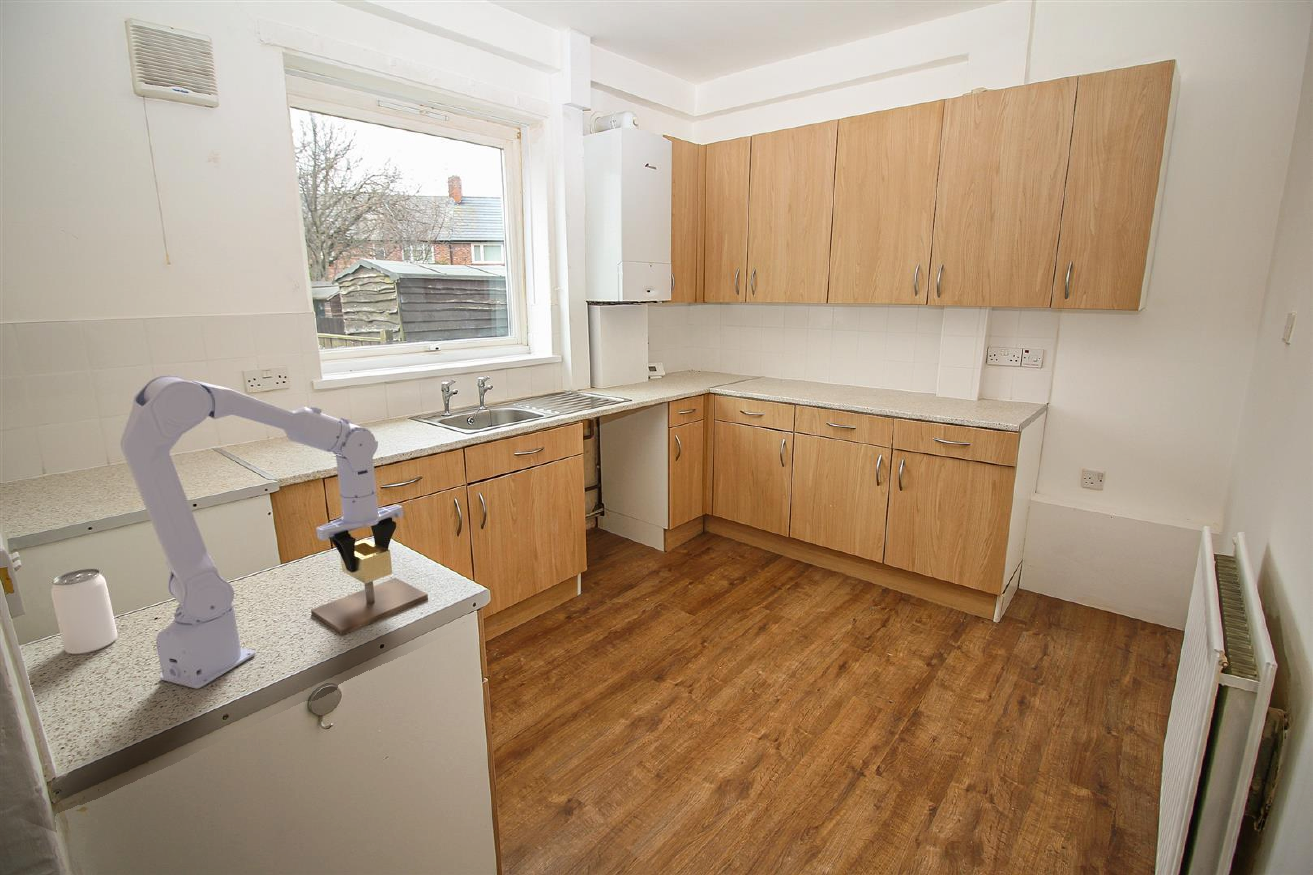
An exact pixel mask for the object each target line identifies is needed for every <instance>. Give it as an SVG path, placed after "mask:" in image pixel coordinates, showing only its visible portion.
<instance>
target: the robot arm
mask: <svg viewBox="0 0 1313 875" xmlns="http://www.w3.org/2000/svg"><path fill="white" fill-rule="evenodd" d="M132 401H133V402H132V408H131V411H130V413H129V416H128V419H127V422H126V425H125V428H124V430H123V433H122V435H121V439H120V443H119V444H120V449H121V451H122V454H123V456H124V458H125V461H126V463H127V466H128V468H129V471H130V473H131V475H132V479H133V480H134V483H135V485H136V487H137V491H138V492H139V494H140V497H141V499H142V502H143V504H144V507H145V509H146V512H147V514H148V516H149V517H148V518H149V519H150V521H151V524H152V526H153V528H154V531H155V533H156V536H157V538H158V541H159V544H160V545H161V548H162V551H163V553H164V555H165V558H166V565H167V568H168V571H169V578H168V582H167V589H168V592H169V594H170V595H171V596H172V597H173V598H174V599H175V600H176V601H177V602H178V605H177V606H176V609H175V612H174V613H173V616H174V619H173V621H172V622H171V623H170V624H169V625H168V626H167V627H166V628H164V629H162V630H161V631H160V632H159V633H158V634H157V636H156V640H155V644H156V650H157V655H158V661H159V665H160V670H161V674H160V675H159V677H158V678H159V680H162V681H165V682H166V681H167V682H169V683H173V684H177V685H180V686H186V687H189V688H193V689H196V690H197V689H201V688H202V687H204V686H206V685H207V684H209V683H211V682H213V681H214V680H216V679H217V678H219V677H220V676H222V675H224V674H225V673H227V672H229V671H230V670H232V669H234V668H235V667H237V666H239V665H240V664H242V663H244V662H245V661H247V660H249V659H251V658H252V657H254V656H255V655H256V651H255V650H251V649H246V648H243V647H241V642H240V638H239V631H238V625H237V619H236V612H235V606H234V598H235V590H234V587H233V585H231V583H230V582H229V581H227V580H226V579H224V577H222V576H221V575H220V573H219V570H218V568H217V566H216V564H215V563H214V561H213V559H212V557H211V555H210V554H209V553H210V552H209V551H208V548H207V546H206V544H205V542H204V539H203V536H202V534H201V531H200V529H199V526H198V524H197V520H196V519H195V516H194V514H193V511H192V508H191V505H190V503H189V501H188V498H187V495H186V492H185V490H184V487H183V485H182V481H181V479H180V477H179V475H178V472H177V469H176V466H175V464H174V460H173V459H172V456H171V454H170V452H171V449H173V447H174V446H175V445H176V444H177V443H178V441H179V440H180V438H181V437H182V436H183V435H184V434H186V433H187V432H189V431H190V430H192V429H194V428H195V427H197V426H199V425H200V424H201V423H203V422H204V421H205V420H206V419H207V418H208V417H209V418H211V419H213V420H217V419H221V418H224V417H225V418H226V417H228V416H236V417H239V418H243V419H247V420H250V421H253V422H257V423H261V424H264V425H268V426H270V427H274V428H277V429H281V430H283V431H284V433H285V434H286V437H287V439H288V440H290V441H291V442H294V443H297V444H300V445H304V446H308V447H311V448H314V449H318V450H321V451H324V452H327V453H333V454H334V455H335V460H336V461H335V462H336V468H337V469H336V471H337V479H338V480H337V481H338V486H339V495H340V496H339V497H340V504H341V511H342V516H341V517H339V518H337V519H335V520H332V521H330V522H328V523H325V524H323V525H321V526H318V527H316V528H315V530H316V536H317V537H316V538H317V539H318V540H320V541H323V542H324V541H327V540H328V541H329V540H330V542H331V543H332V544H333V546H334V547H335V548H336V550H337V551H338V552H339V555H341V557H342V559H343V561H344V563H345V566H346V569H347V570H348V571H350V572H351V573H353V572H356V561H355V543H356V540H357V539H356V537H353V536H352V534H351V533H350V532H351V531H355V530H358V529H361V528H366V527H370V529H371V531H372V536H373V540H374V543H375V544H378V545H380V546H382V547H384V548H386V549H388V550H389V547H390V543H391V539H392V538H393V535H394V533H395V531H396V529H397V522H396V521H395V520H393V519H395V518H398V519H400V518H403V517H404V509H403V506H401V505H398V504H394V505H390V506H384V507H379V503H378V502H379V500H378V495H377V483H376V482H377V481H376V475H375V474H376V473H375V464H374V455H375V454H376V452H377V450H378V448H379V441H378V440H376V438H375V435H374V434H373V433H372V432H371V430H369V429H368V428H366V427H362V426H359V425H357V424H354V423H352V422H350V419H348V418H345V417H340V418H337V417H334V416H331V415H328V414H325V413H323V412H322V411H323V408H319V407H317V406H314V405H311V406H310V407H309V408H308V407H307V406H306V407H305V406H302V407H299V408H297V409H294V410H288V409H285V408H283V407H279V406H277V405H275V404H272V403H270V402H269V403H268V402H267V401H264V400H261V399H258V398H256V397H254V396H253V397H252V396H250V395H248V394H244V393H242V392H240V391H237V390H234V389H232V388H228V387H226V386H220V385H218V384H217V385H216V384H213V383H208V382H202V381H200V380H199V381H197V380H194V379H193V380H191V381H189V380H187V379H185V378H183V377H182V376H178V375H171V374H166V375H165V374H164V375H159V376H156V377H154V378H152V379H151V380H149V381H148V382H147V383H145V385H143V387H142V388H141V389H140V390H139V391H138V392H137V393H136V394H135V395H134V397H133V400H132ZM341 557H340V558H341Z"/></svg>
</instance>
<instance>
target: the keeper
mask: <svg viewBox="0 0 1313 875" xmlns="http://www.w3.org/2000/svg"><path fill="white" fill-rule="evenodd" d="M428 595H429V594H428V593H426V592H424V591H423V590H421V589H419V588H416V587H414V586H413V585H410V584H408V583H407V582H405V581H402V580H401V579H399V578H397V577H394V578H391V579H389V580H386V581H383V582H380V583H378V584H375V585H374V581H372V582H369V583H366V584H365V583H364V589H362V590H360V591H357V592H354V593H351V594H348V595H347V596H343V597H341V598H338V599H335V600H334V601H330V602H328V603H325V604H322V605H321V606H317V607H314V608H312V609H311V610H310V611H311V612H310V613H311V616H312V617H314V618H316V619H317V620H318V621H320V622H321V623H323V624H324V625H326V626H327V627H329V628H331V629H332V630H333V631H335V632H336V633H338V634H339V635H341V636H345V635H347V634H350V633H352V632H354V631H357V630H359V629H361V628H364V627H366V626H368V625H370V624H373V623H375V622H378V621H380V620H382V619H385V618H387V617H390V616H392V615H394V614H396V613H398V612H401V611H403V610H406V609H408V608H410V607H413V606H416V605H418V604H421V603H422V602H424V600H425V601H427V600H429V596H428ZM426 599H427V600H426Z"/></svg>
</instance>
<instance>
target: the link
mask: <svg viewBox="0 0 1313 875" xmlns="http://www.w3.org/2000/svg"><path fill="white" fill-rule="evenodd" d="M339 555H340V554H339ZM355 561H356V572H353V573H351V572H350V571H348V570H347V569H346V566H345V563H344V561H343V559H342V557H341V555H340V564H341V572H343V573H345V574H346V575H348V576H350V577H352V578H353V579H355V580H358V581H359V582H361V583H365V584H366V583H369V582H372V581H373V582H374V581H376V580H377V581H378V580H379V579H381V578H384V577H387V576H390V575H393V567H392V566H393V565H392V558H391V550H390V549H389V548H388V549H386V548H384V547H382V546H380V545H378V544H375V542H373V541H372V540H369V539H364V540H363V539H362V540H361V541H357V542H355Z"/></svg>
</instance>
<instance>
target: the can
mask: <svg viewBox="0 0 1313 875" xmlns="http://www.w3.org/2000/svg"><path fill="white" fill-rule="evenodd" d="M52 584H53V585H52V587H51V590H50V594H51V599H52V603H53V604H52V605H53V607H54V613H55V616H56V620H57V625H58V629H59V632H60V637H61V641H62V645H63V649H64V651H65V653H68V654H70V655H75V656H76V655H85V654H91V653H94V652H97V651H99V650H102V649H104V648H106V647H108V646H110V645H112V643H114V642H115V641H116V639H118V630H117V626H116V621H115V617H114V612H113V607H112V602H111V598H110V594H109V589H108V586H107V585H108V584H107V581H106V578H105V577H104V576H103V575H102V574H101V571H100V569H98V568H83V569H77V570H72V571H69V572H67V573H64V574H61V575H59V576H57V577H55V578H54V579H52Z"/></svg>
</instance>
